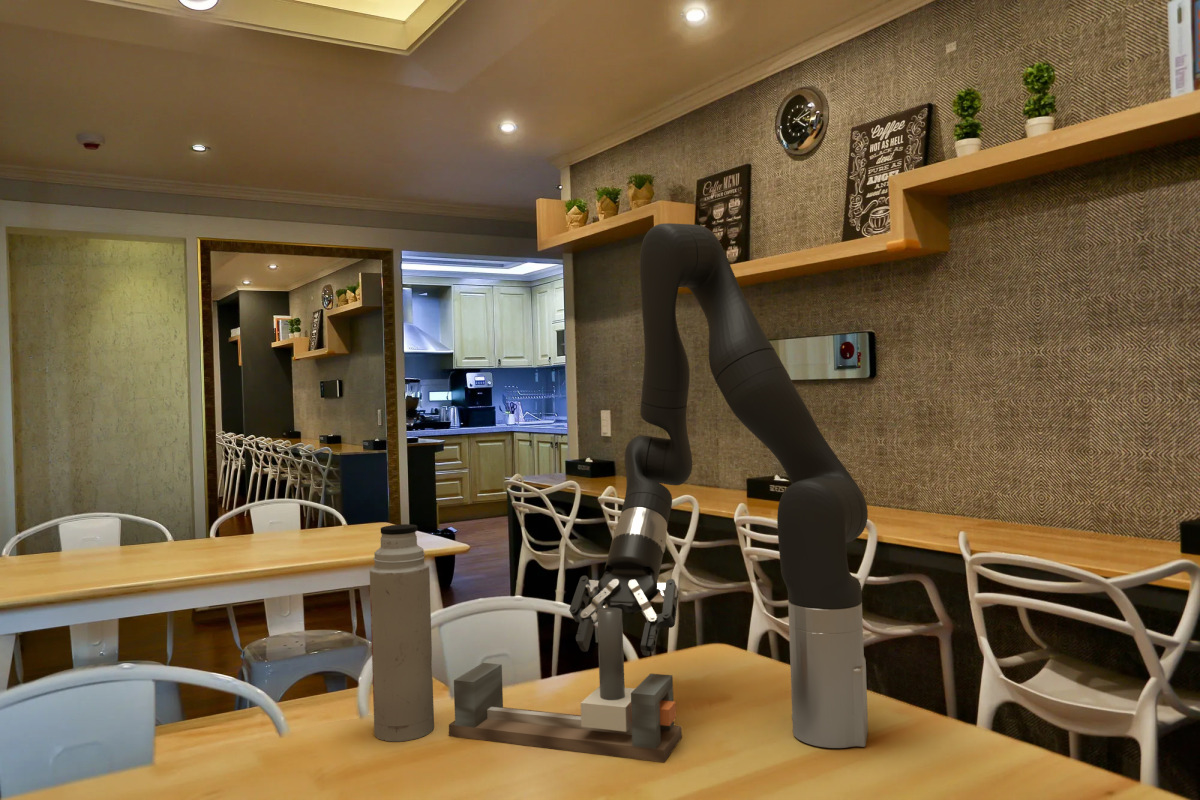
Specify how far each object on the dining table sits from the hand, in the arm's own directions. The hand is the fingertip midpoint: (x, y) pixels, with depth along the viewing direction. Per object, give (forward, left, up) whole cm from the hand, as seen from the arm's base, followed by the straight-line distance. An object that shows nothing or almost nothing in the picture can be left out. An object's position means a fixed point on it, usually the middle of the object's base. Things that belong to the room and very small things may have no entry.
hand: (613, 650), depth 109 cm
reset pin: (-5, 0, -8) cm, 10 cm away
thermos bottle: (+29, +4, -12) cm, 32 cm away
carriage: (0, 0, -9) cm, 9 cm away
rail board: (+7, 0, -12) cm, 14 cm away
